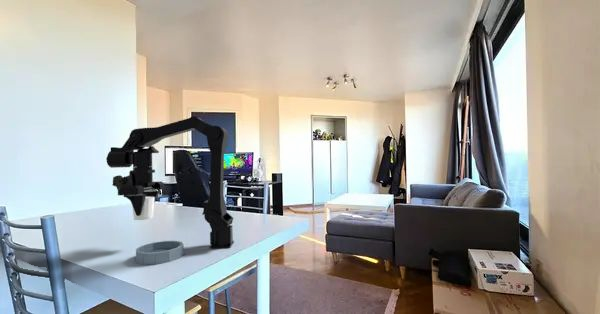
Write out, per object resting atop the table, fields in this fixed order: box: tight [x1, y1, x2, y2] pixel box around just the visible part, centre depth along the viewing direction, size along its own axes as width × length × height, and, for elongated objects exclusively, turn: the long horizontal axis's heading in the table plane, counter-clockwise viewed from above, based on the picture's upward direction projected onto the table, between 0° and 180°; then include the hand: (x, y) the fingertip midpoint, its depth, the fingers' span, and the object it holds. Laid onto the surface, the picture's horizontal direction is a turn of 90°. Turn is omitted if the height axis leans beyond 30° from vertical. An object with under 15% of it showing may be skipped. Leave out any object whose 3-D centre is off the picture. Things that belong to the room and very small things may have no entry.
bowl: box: [135, 240, 185, 265], centre depth 87 cm, size 13×13×3 cm
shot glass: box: [131, 196, 155, 221], centre depth 97 cm, size 7×7×7 cm
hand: (143, 213), depth 97 cm, fingers closed on shot glass, 6 cm apart
